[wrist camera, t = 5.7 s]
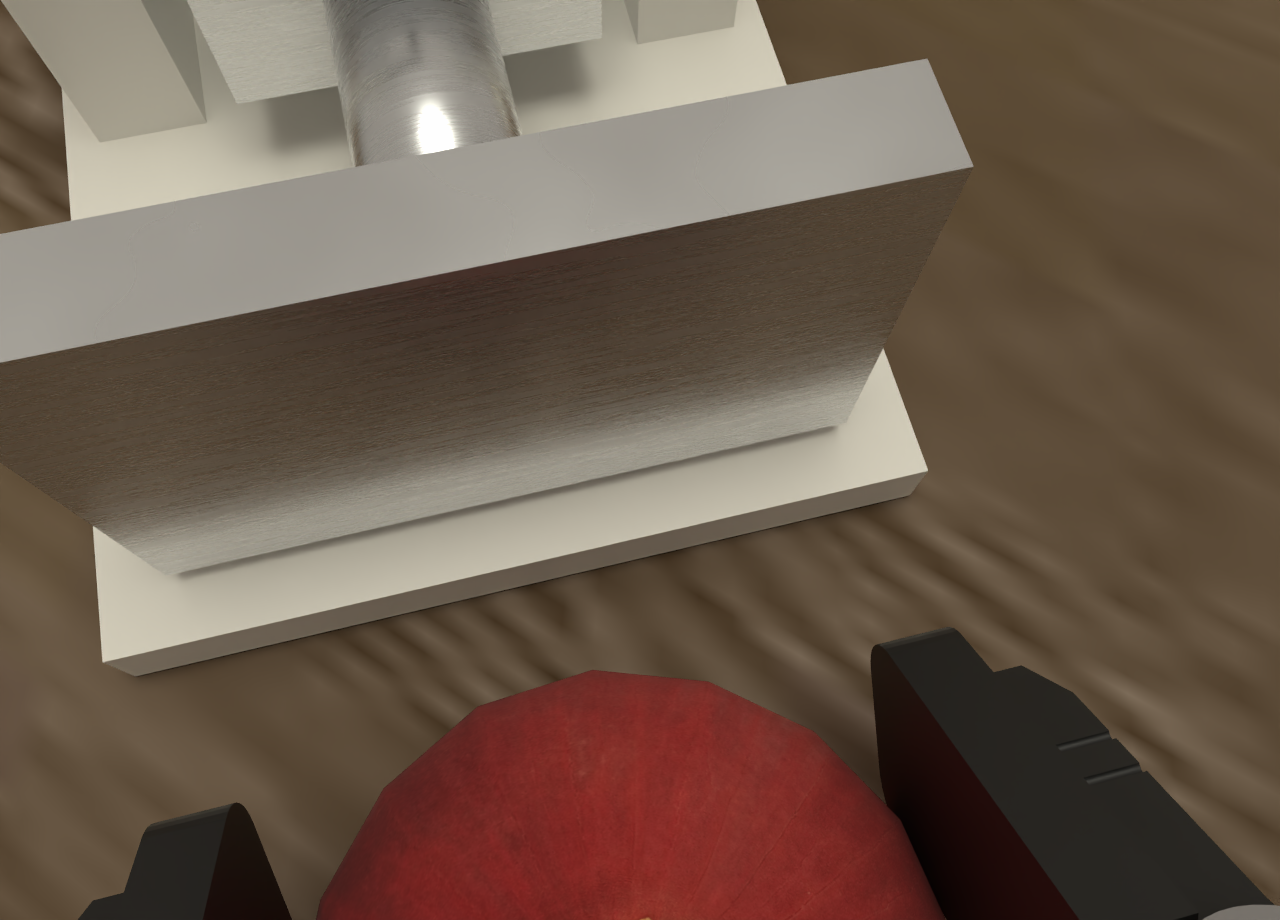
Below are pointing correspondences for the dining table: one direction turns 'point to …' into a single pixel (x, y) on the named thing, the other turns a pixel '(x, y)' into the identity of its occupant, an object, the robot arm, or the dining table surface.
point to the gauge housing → (317, 143)
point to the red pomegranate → (629, 817)
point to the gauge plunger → (461, 287)
